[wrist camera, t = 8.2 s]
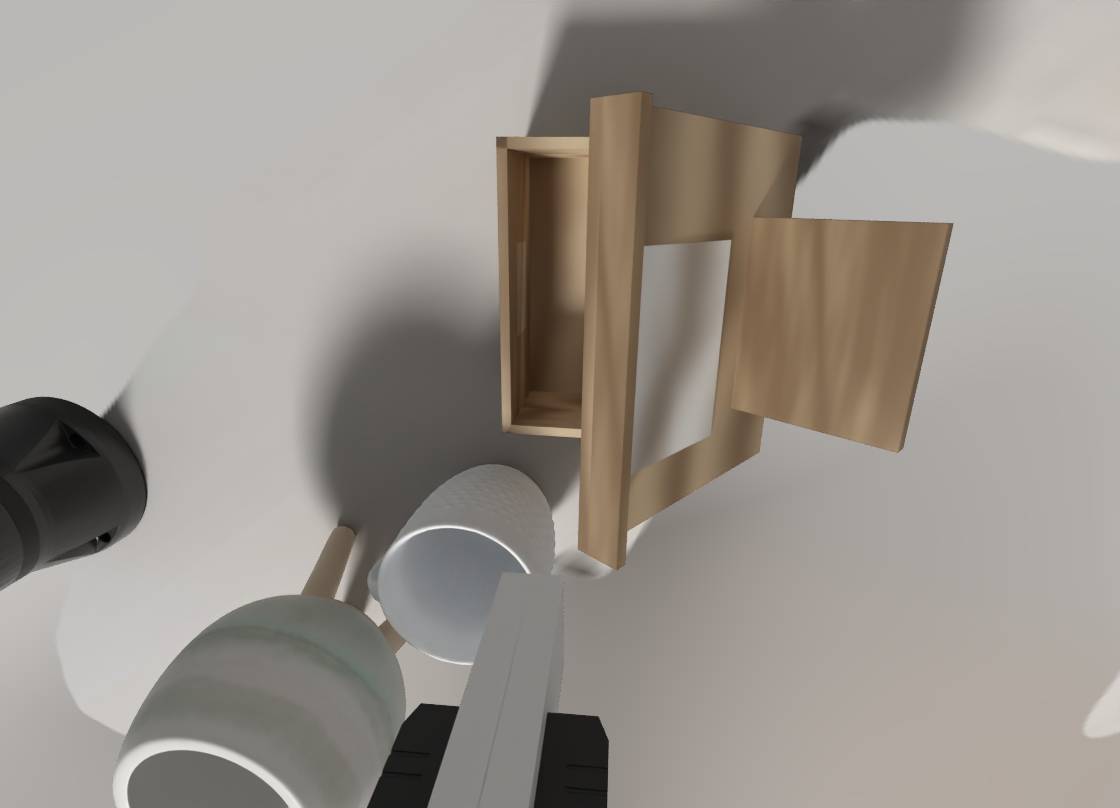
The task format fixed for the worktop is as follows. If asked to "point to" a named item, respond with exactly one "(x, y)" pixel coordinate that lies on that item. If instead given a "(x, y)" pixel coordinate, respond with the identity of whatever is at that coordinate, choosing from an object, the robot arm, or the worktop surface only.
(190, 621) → the worktop surface
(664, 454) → the lid
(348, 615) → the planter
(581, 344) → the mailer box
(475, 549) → the mug
